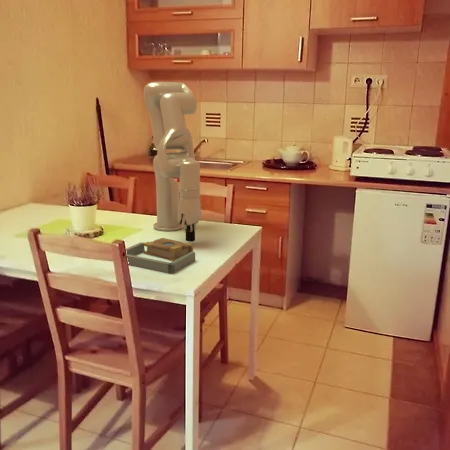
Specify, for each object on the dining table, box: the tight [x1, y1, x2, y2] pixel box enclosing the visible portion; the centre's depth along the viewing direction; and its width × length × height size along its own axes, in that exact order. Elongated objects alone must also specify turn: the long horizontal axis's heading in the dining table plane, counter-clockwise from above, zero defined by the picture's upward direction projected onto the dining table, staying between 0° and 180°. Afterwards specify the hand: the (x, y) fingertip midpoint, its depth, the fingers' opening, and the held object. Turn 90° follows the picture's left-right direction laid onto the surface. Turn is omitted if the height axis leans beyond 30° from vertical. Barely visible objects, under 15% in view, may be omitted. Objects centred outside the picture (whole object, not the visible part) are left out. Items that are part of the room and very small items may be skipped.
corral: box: [125, 241, 196, 275], centre depth 166 cm, size 14×23×3 cm, turn 63°
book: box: [143, 237, 194, 262], centre depth 174 cm, size 15×11×5 cm
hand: (190, 240), depth 186 cm, fingers closed
